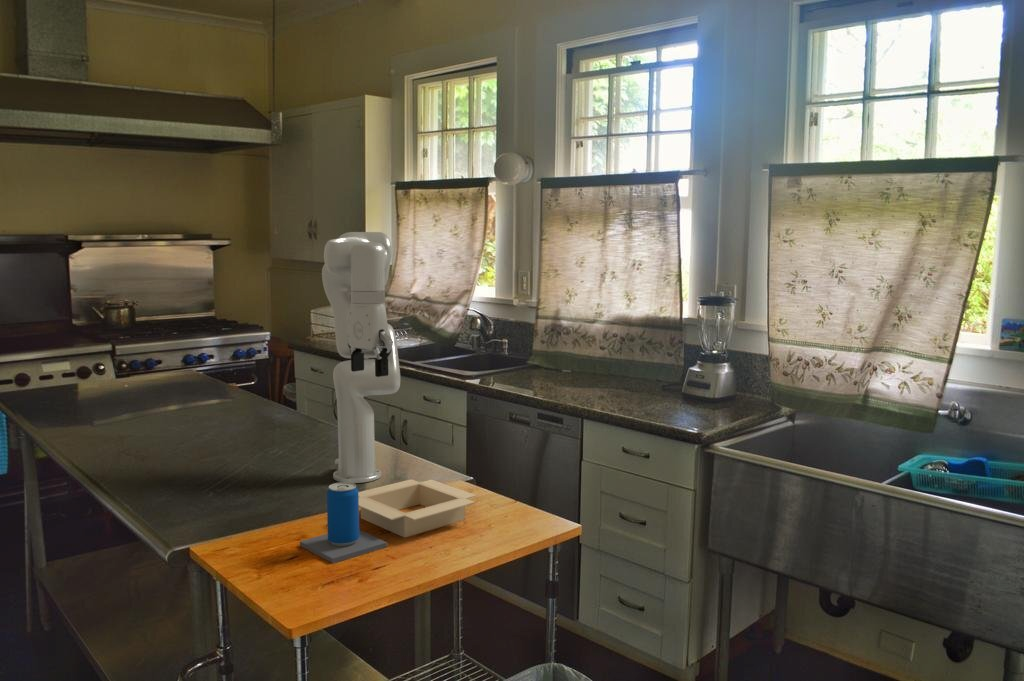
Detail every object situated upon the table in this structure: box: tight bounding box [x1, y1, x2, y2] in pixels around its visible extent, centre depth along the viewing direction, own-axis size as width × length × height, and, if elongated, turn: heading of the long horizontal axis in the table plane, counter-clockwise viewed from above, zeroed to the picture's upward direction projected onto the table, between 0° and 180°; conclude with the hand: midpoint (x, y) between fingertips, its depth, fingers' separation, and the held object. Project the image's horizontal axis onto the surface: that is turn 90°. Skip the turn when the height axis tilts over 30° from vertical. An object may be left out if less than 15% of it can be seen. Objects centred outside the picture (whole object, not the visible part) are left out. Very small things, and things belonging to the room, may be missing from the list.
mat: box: [299, 529, 388, 564], centre depth 180 cm, size 13×13×1 cm
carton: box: [358, 478, 478, 538], centre depth 197 cm, size 24×24×5 cm
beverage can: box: [326, 482, 360, 546], centre depth 180 cm, size 6×6×12 cm
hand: (369, 373), depth 196 cm, fingers open, 9 cm apart
